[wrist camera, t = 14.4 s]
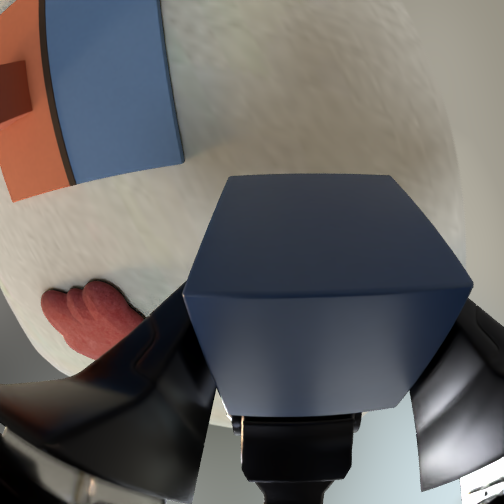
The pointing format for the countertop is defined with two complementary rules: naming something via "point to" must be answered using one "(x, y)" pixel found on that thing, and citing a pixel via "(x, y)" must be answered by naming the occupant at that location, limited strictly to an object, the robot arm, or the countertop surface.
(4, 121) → the terracotta block
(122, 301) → the red lumpy blob
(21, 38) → the sorting mat
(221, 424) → the countertop surface
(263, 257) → the slate-blue block
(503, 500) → the robot arm
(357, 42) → the countertop surface
